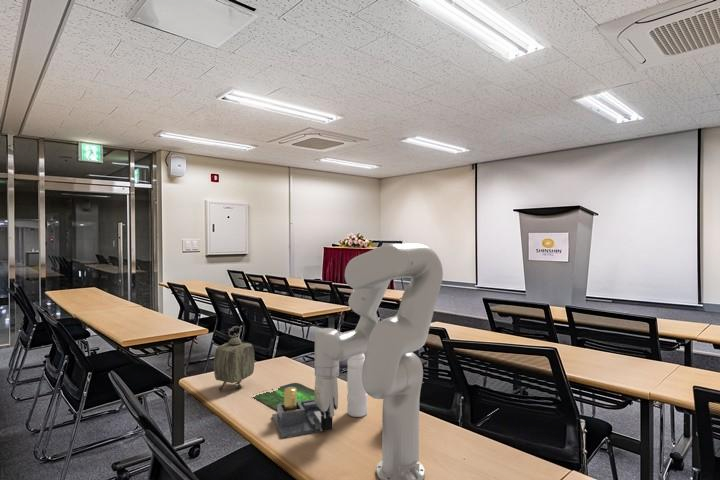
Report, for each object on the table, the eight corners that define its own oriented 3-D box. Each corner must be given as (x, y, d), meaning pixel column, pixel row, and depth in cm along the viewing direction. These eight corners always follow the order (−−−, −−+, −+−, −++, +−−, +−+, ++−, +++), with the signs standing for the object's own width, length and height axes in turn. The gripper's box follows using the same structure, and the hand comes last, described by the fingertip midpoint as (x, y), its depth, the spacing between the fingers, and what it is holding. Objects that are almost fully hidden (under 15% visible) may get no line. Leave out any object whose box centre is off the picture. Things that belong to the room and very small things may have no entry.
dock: (331, 429, 132) (332, 413, 132) (281, 438, 126) (281, 422, 126) (317, 409, 147) (317, 395, 147) (272, 417, 141) (272, 402, 141)
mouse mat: (248, 396, 160) (248, 394, 160) (294, 382, 175) (294, 380, 175) (288, 419, 140) (288, 416, 140) (337, 401, 156) (337, 398, 156)
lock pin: (328, 429, 130) (328, 421, 130) (320, 431, 129) (320, 422, 129) (320, 418, 138) (320, 410, 138) (312, 419, 137) (312, 411, 137)
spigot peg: (297, 420, 136) (297, 390, 136) (285, 422, 135) (285, 391, 135) (294, 415, 140) (294, 386, 140) (283, 417, 138) (283, 387, 138)
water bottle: (365, 418, 140) (365, 345, 140) (345, 416, 141) (345, 343, 141) (369, 410, 147) (369, 339, 147) (349, 408, 148) (349, 338, 148)
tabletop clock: (239, 380, 177) (239, 322, 177) (256, 384, 173) (256, 324, 173) (213, 392, 164) (213, 329, 164) (231, 395, 160) (231, 331, 160)
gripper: (308, 364, 132) (308, 421, 132) (322, 379, 118) (322, 442, 119) (330, 361, 135) (330, 417, 135) (347, 375, 121) (346, 438, 121)
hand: (326, 429), depth 127 cm, fingers closed
